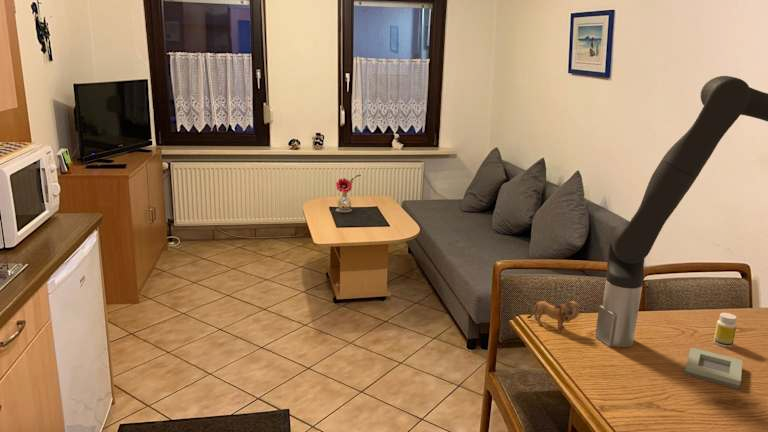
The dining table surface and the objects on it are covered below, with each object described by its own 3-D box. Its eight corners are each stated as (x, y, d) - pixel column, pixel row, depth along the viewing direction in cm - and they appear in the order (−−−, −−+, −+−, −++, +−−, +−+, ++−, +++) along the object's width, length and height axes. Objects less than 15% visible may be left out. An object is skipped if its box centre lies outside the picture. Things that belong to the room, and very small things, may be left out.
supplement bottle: (734, 348, 168) (740, 320, 165) (716, 346, 168) (721, 318, 166) (729, 340, 172) (734, 313, 170) (710, 338, 173) (716, 311, 171)
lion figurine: (578, 329, 176) (582, 300, 174) (573, 336, 172) (577, 306, 169) (529, 316, 183) (532, 288, 181) (523, 322, 179) (526, 294, 176)
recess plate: (739, 389, 148) (740, 381, 147) (684, 374, 153) (685, 366, 153) (740, 367, 158) (742, 360, 157) (689, 354, 163) (690, 347, 163)
